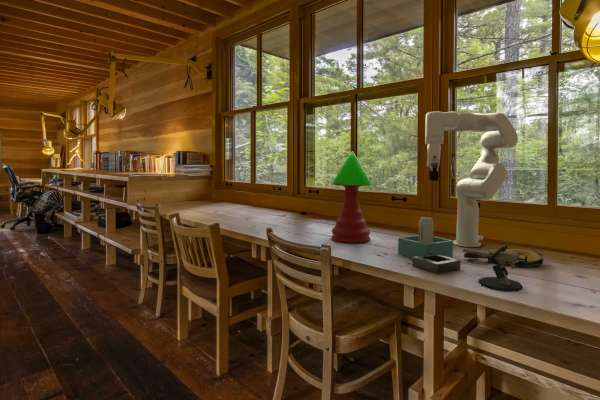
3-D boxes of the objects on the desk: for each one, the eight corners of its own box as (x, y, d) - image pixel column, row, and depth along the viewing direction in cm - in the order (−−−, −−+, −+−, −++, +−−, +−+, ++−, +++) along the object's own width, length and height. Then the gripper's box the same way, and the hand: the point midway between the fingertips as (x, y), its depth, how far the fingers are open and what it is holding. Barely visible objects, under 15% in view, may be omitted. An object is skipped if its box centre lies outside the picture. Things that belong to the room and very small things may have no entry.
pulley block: (461, 241, 163) (542, 245, 155) (461, 254, 164) (540, 259, 156) (466, 253, 150) (554, 259, 142) (465, 267, 151) (552, 274, 143)
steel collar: (434, 262, 153) (435, 253, 153) (460, 269, 143) (460, 260, 142) (412, 265, 147) (412, 256, 147) (437, 274, 137) (437, 264, 137)
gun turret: (469, 272, 139) (471, 237, 137) (531, 286, 124) (533, 247, 122) (451, 279, 130) (453, 242, 129) (515, 295, 115) (518, 253, 114)
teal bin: (424, 249, 175) (424, 234, 174) (452, 257, 161) (453, 240, 160) (397, 253, 167) (398, 237, 167) (425, 261, 154) (426, 244, 153)
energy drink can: (414, 251, 166) (416, 217, 165) (426, 250, 168) (428, 216, 166) (423, 255, 160) (424, 219, 159) (435, 254, 162) (437, 218, 161)
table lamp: (374, 237, 202) (376, 150, 198) (364, 245, 184) (366, 149, 180) (338, 234, 210) (339, 151, 206) (325, 241, 192) (326, 150, 188)
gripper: (424, 141, 178) (423, 178, 180) (426, 140, 161) (425, 181, 163) (441, 141, 176) (441, 178, 178) (445, 139, 159) (444, 181, 161)
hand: (433, 179), depth 171 cm, fingers open, 9 cm apart
